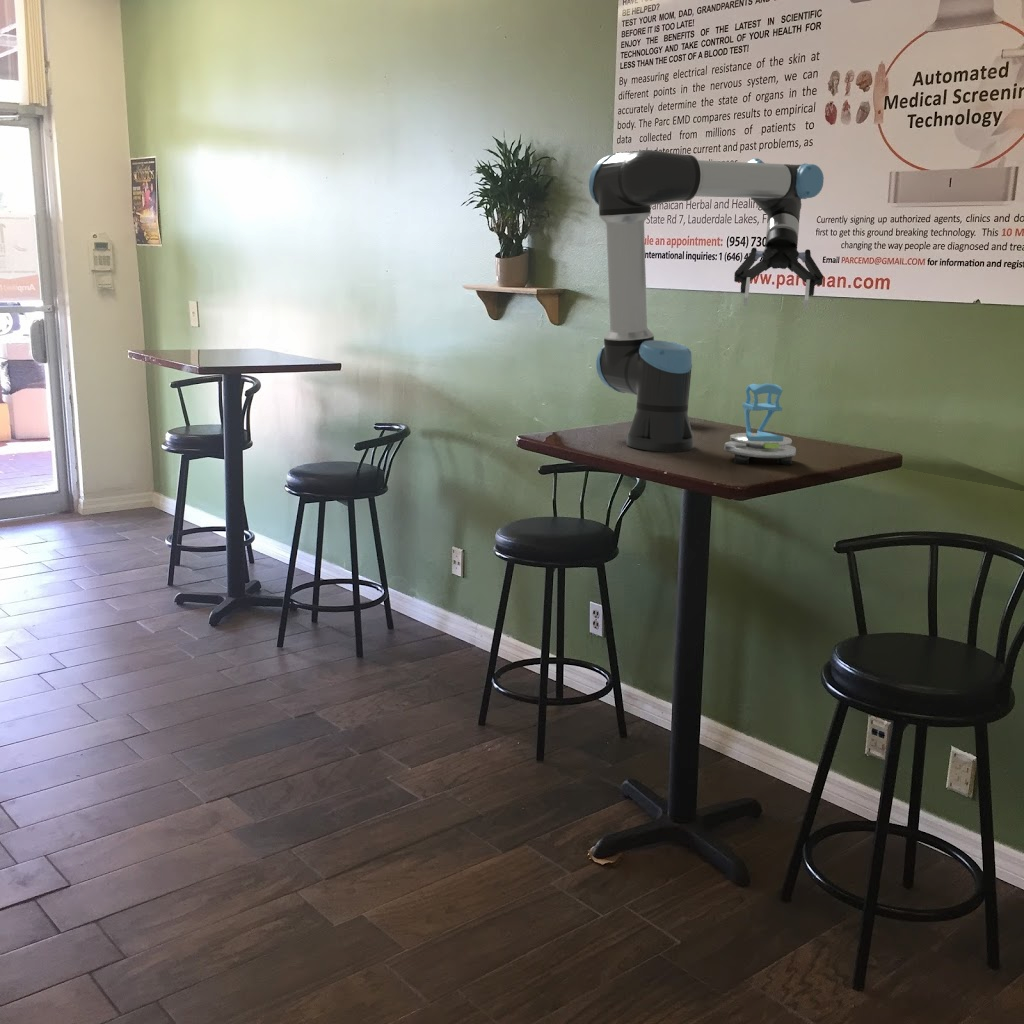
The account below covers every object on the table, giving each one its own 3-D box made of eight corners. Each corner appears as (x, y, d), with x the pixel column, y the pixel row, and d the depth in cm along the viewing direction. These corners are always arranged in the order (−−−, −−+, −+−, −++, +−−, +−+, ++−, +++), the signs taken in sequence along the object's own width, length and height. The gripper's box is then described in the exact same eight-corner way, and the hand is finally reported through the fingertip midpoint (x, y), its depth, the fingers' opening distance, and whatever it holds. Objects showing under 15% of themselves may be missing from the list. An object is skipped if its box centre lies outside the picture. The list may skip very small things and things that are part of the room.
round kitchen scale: (735, 466, 222) (737, 443, 221) (714, 453, 236) (716, 431, 235) (805, 467, 223) (807, 444, 222) (780, 454, 238) (782, 432, 237)
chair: (769, 435, 233) (774, 380, 231) (783, 441, 225) (788, 384, 223) (735, 434, 232) (740, 379, 230) (748, 440, 224) (753, 383, 222)
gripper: (833, 251, 257) (830, 316, 247) (729, 247, 263) (720, 311, 252) (837, 227, 251) (833, 293, 240) (729, 224, 257) (721, 289, 246)
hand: (775, 303), depth 246 cm, fingers open, 13 cm apart
